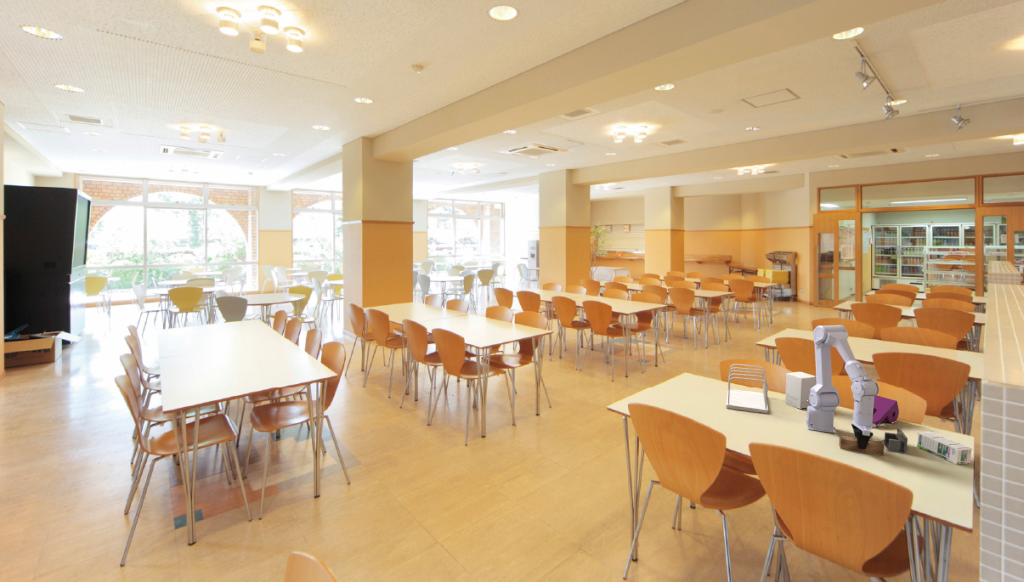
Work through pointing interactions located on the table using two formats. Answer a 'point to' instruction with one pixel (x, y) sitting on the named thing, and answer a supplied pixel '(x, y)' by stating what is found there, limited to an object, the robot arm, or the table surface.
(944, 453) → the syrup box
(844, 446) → the rail
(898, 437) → the bracket
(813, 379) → the supplement box
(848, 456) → the table surface
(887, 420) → the mounting bracket
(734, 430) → the table surface
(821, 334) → the robot arm
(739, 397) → the file sorter
